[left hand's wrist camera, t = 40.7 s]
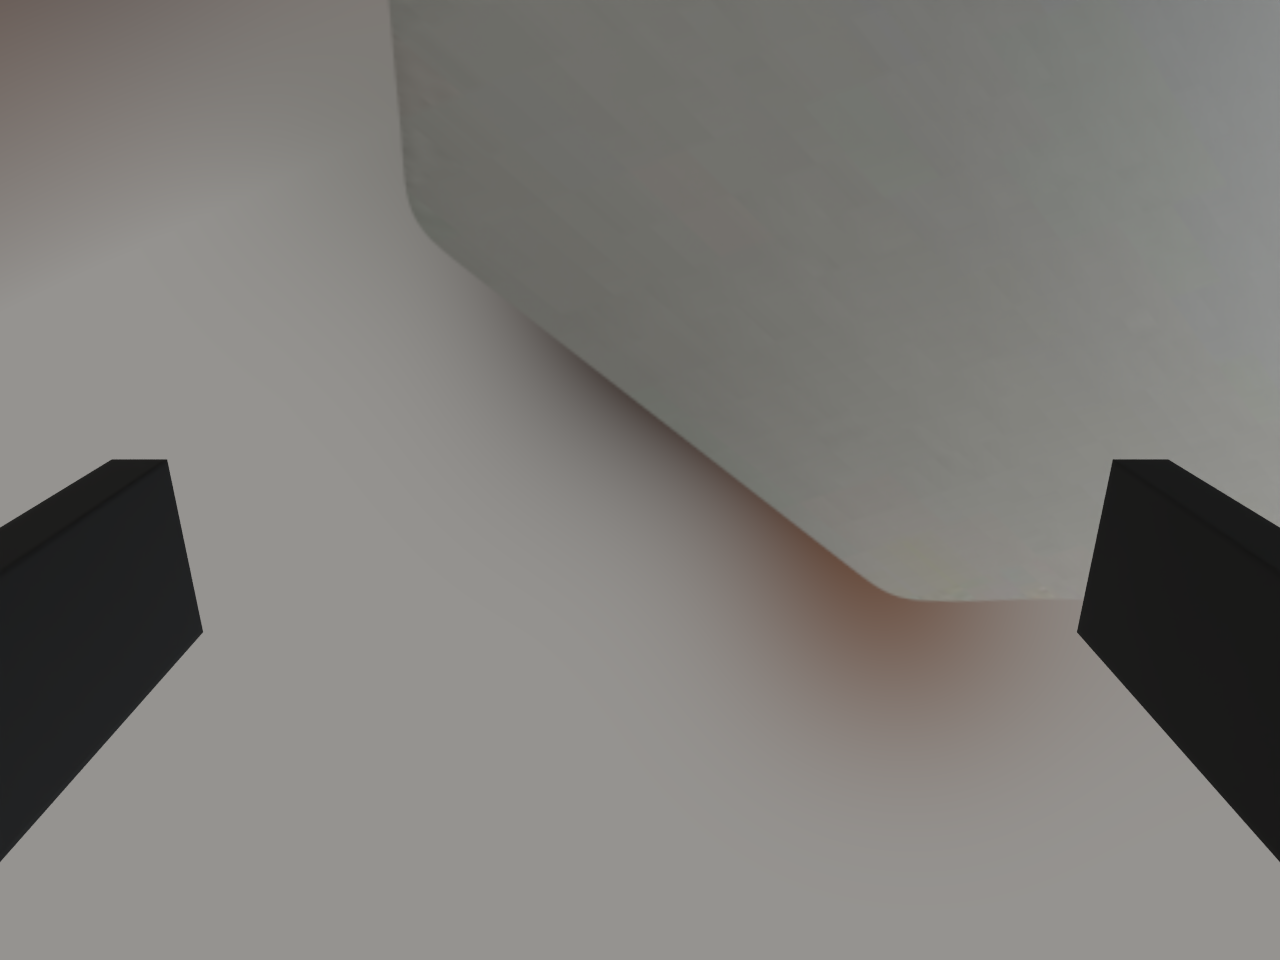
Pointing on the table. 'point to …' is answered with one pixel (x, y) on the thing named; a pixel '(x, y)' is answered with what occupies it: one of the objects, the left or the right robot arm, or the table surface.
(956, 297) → the table surface
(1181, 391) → the table surface
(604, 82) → the table surface
